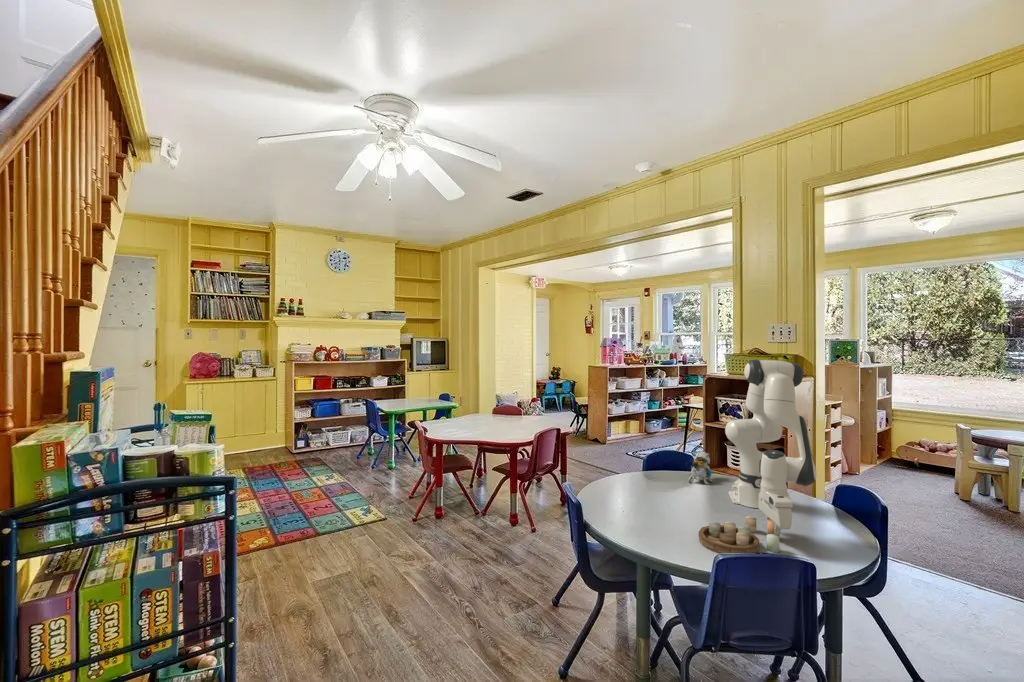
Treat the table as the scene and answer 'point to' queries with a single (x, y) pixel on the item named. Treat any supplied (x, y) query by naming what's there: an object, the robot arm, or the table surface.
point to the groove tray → (728, 538)
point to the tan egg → (750, 524)
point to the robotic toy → (701, 467)
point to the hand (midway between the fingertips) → (773, 530)
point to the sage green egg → (773, 543)
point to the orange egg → (771, 527)
